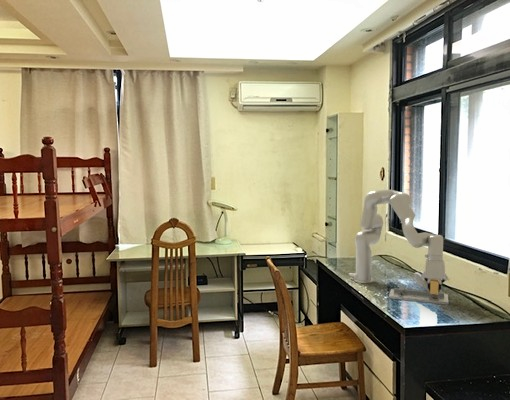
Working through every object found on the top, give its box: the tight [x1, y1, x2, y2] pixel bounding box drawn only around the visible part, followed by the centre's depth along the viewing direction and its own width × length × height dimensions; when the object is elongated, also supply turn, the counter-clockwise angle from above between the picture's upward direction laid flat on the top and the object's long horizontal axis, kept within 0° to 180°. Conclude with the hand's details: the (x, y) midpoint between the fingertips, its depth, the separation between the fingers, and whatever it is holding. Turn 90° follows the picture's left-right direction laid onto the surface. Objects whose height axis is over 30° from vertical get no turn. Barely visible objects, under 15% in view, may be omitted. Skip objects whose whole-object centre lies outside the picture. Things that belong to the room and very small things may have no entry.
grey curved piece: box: [413, 270, 429, 291], centre depth 260 cm, size 17×5×10 cm, turn 2°
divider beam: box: [393, 285, 445, 297], centre depth 241 cm, size 26×7×3 cm, turn 68°
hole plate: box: [388, 288, 450, 306], centre depth 240 cm, size 30×14×2 cm, turn 68°
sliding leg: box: [430, 279, 439, 298], centre depth 237 cm, size 4×7×9 cm, turn 158°
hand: (434, 290), depth 238 cm, fingers closed on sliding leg, 4 cm apart
